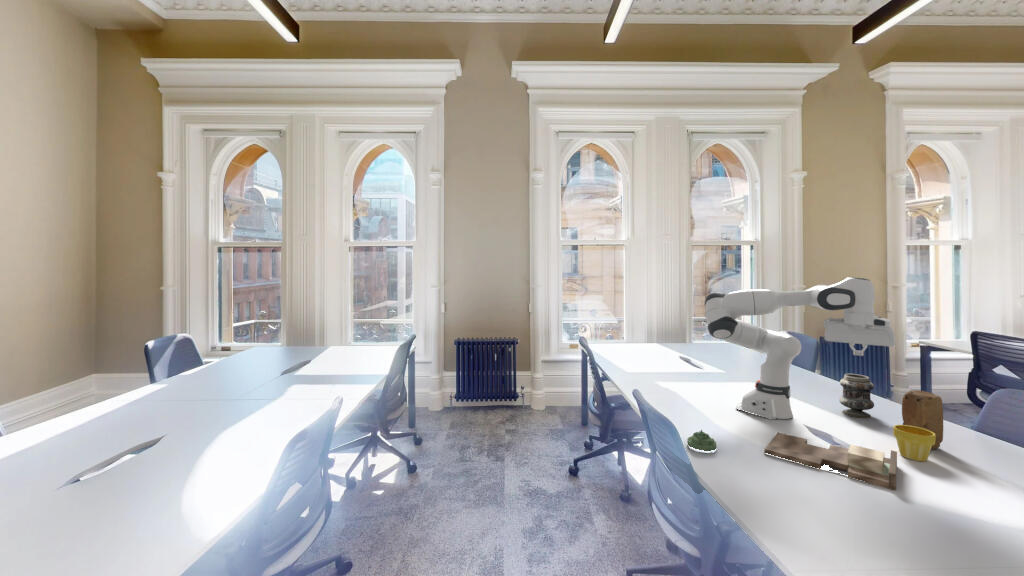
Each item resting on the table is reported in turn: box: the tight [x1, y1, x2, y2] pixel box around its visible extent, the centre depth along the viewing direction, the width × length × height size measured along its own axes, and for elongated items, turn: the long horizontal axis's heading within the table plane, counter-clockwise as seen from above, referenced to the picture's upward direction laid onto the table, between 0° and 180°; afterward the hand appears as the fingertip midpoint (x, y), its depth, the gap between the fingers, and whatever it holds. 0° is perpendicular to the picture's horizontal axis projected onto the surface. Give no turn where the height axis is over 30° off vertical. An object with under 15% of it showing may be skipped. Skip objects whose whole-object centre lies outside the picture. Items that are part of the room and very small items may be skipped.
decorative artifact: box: [687, 429, 717, 451], centre depth 147 cm, size 10×7×10 cm
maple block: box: [847, 444, 885, 473], centre depth 128 cm, size 8×8×4 cm
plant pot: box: [892, 424, 936, 462], centre depth 136 cm, size 10×10×10 cm
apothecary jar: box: [838, 373, 875, 419], centre depth 177 cm, size 12×12×18 cm
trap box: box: [764, 431, 898, 491], centre depth 135 cm, size 34×20×5 cm, turn 44°
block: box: [901, 390, 944, 450], centre depth 145 cm, size 11×8×20 cm
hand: (858, 355), depth 147 cm, fingers closed
